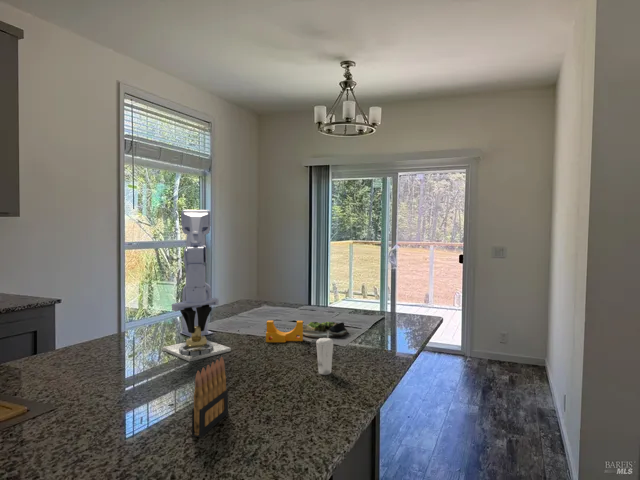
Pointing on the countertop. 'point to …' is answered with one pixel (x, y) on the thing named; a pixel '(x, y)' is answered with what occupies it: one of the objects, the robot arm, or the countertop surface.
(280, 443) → the countertop surface
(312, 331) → the salad plate
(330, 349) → the milkshake
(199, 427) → the ammunition clip
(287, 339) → the pipe clamp
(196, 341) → the flanged cylinder knob
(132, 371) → the countertop surface
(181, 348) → the carrier
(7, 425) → the countertop surface
